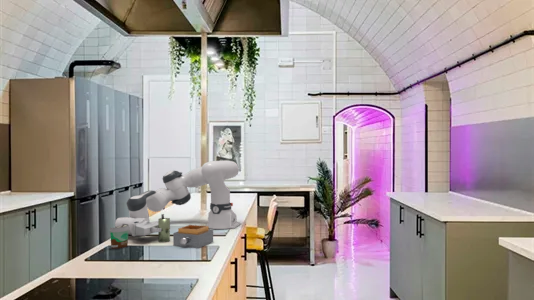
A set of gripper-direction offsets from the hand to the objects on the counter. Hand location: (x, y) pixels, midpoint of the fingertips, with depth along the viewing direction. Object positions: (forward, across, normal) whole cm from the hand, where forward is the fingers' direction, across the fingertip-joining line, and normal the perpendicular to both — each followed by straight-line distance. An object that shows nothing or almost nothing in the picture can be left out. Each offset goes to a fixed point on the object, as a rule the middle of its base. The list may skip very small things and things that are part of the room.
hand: (165, 228), depth 226 cm
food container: (-12, +18, -6) cm, 23 cm away
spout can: (-1, 0, -6) cm, 6 cm away
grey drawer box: (+16, +2, -6) cm, 17 cm away
